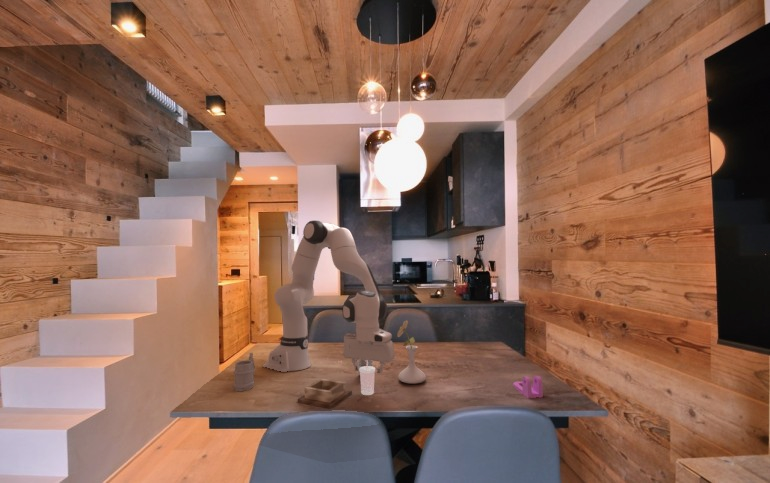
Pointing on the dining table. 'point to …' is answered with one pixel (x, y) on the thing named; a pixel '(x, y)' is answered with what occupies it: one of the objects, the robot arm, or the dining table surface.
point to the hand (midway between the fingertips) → (368, 371)
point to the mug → (244, 374)
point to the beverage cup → (367, 379)
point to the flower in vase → (410, 361)
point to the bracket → (530, 387)
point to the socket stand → (325, 393)
